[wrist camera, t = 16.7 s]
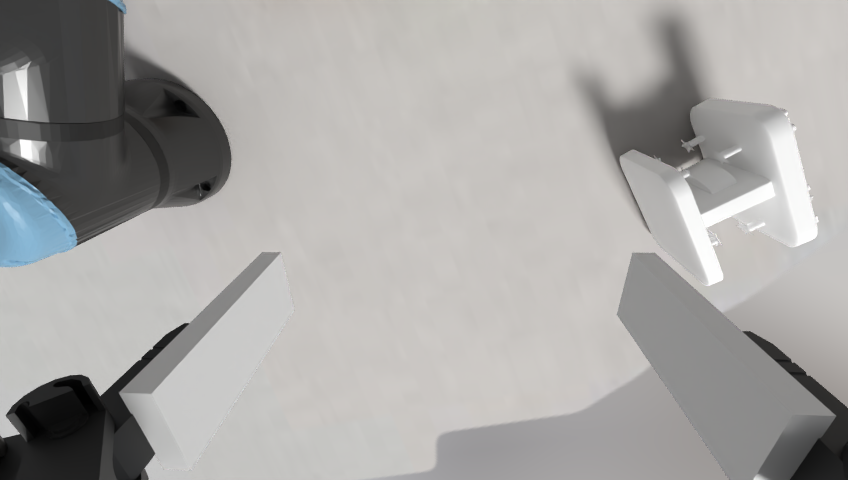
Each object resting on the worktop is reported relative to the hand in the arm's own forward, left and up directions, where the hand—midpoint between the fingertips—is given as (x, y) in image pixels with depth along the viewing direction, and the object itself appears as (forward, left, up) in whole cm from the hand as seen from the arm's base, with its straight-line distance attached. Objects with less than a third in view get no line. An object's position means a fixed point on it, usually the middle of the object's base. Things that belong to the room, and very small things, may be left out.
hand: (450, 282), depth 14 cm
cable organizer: (+27, -5, -32) cm, 42 cm away
